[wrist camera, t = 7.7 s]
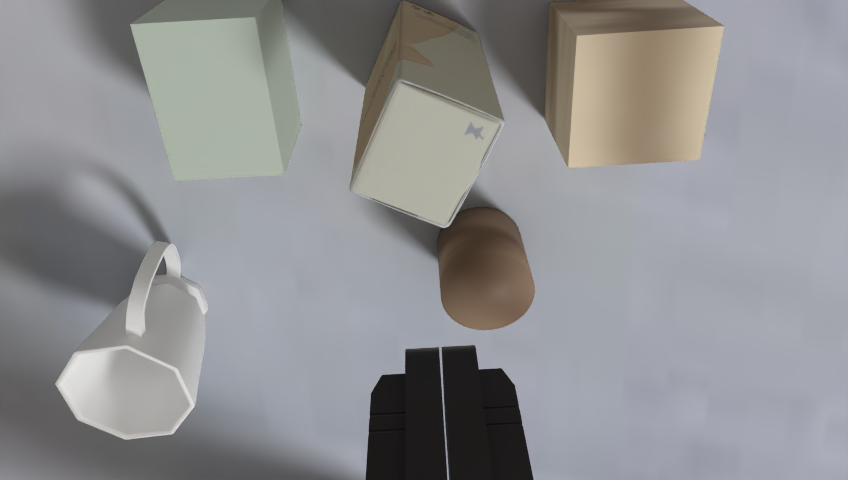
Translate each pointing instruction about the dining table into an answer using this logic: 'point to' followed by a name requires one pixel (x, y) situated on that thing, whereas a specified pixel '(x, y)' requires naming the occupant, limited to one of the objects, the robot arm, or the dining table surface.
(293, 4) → the dining table surface
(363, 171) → the box
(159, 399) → the cup
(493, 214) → the walnut cylinder
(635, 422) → the dining table surface
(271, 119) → the sage block
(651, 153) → the beech cube
